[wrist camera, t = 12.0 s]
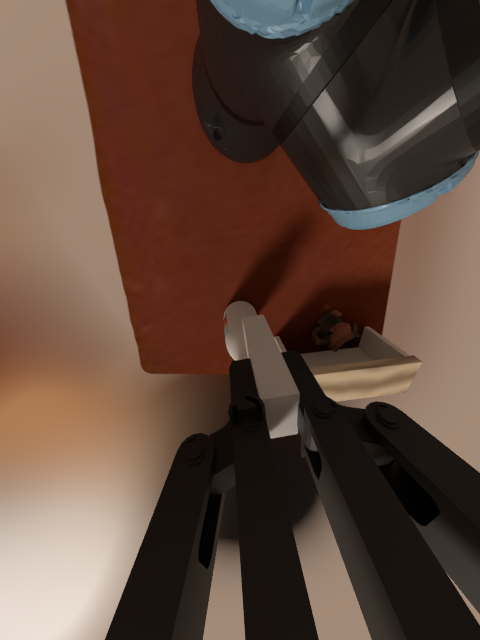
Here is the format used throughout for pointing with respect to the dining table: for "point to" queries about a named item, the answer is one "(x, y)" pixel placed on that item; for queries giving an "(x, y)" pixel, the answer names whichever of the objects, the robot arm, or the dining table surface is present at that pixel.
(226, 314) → the milk bottle
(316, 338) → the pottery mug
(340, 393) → the small wooden bench
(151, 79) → the dining table surface
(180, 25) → the dining table surface
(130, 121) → the dining table surface
